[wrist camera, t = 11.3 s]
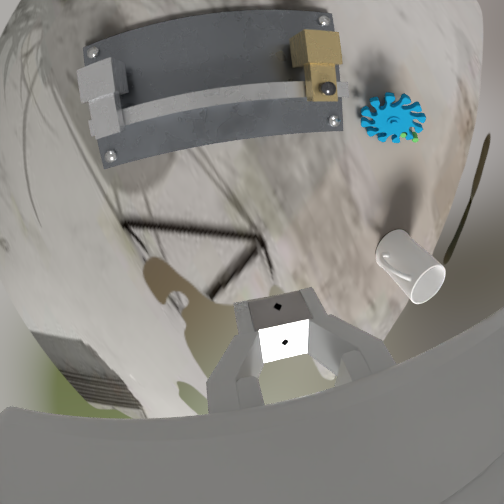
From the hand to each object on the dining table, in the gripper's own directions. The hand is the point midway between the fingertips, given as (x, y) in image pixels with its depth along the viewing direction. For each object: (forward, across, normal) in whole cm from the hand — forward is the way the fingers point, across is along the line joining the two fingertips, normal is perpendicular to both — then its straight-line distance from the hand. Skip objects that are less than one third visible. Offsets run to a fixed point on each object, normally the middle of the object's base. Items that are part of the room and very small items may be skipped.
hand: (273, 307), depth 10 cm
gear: (+30, -25, -4) cm, 39 cm away
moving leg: (+28, -12, -11) cm, 32 cm away
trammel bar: (+28, -1, -11) cm, 30 cm away
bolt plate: (+29, -1, -11) cm, 31 cm away
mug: (+30, -28, +20) cm, 45 cm away
